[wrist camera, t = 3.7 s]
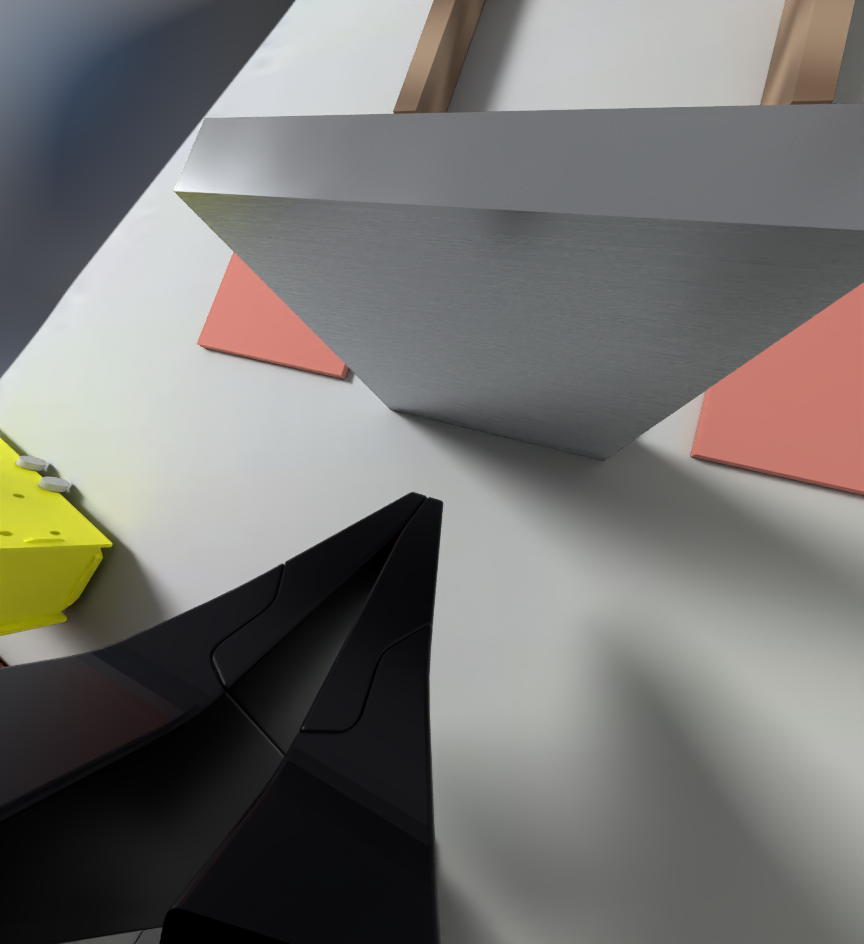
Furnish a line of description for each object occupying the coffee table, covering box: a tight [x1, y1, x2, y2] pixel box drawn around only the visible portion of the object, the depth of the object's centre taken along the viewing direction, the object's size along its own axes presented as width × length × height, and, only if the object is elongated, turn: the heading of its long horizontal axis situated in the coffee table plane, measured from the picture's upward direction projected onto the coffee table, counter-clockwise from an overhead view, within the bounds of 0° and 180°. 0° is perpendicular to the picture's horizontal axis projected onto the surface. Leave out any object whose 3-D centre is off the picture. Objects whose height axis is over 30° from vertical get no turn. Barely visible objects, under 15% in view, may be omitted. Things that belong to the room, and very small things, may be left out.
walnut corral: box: [393, 0, 855, 114], centre depth 16 cm, size 15×17×2 cm
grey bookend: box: [174, 103, 864, 461], centre depth 10 cm, size 12×10×11 cm
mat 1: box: [197, 252, 349, 379], centre depth 19 cm, size 10×10×1 cm
